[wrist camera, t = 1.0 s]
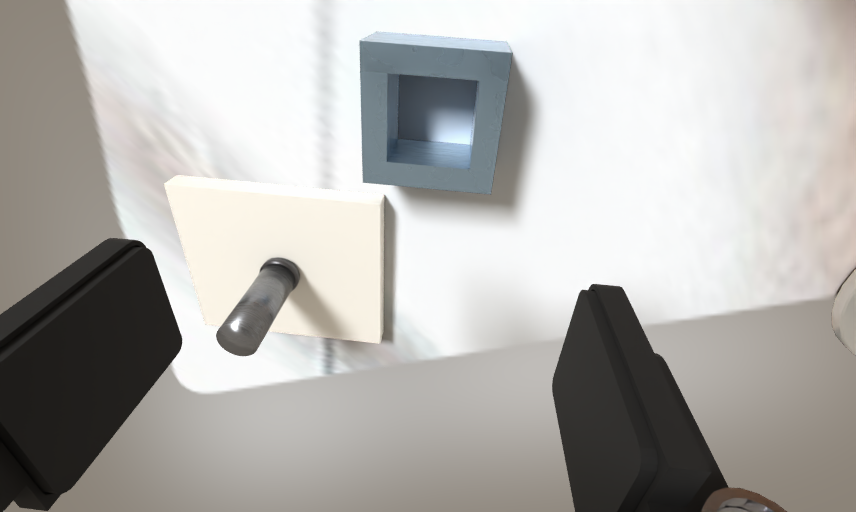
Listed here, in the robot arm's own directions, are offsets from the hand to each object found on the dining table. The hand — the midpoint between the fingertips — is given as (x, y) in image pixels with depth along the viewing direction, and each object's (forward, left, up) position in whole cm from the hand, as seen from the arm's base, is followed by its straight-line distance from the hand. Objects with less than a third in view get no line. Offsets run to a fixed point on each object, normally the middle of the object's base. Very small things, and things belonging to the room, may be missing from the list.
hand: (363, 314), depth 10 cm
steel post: (+10, +12, -17) cm, 23 cm away
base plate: (+10, +12, -18) cm, 24 cm away
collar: (0, 0, -18) cm, 18 cm away
